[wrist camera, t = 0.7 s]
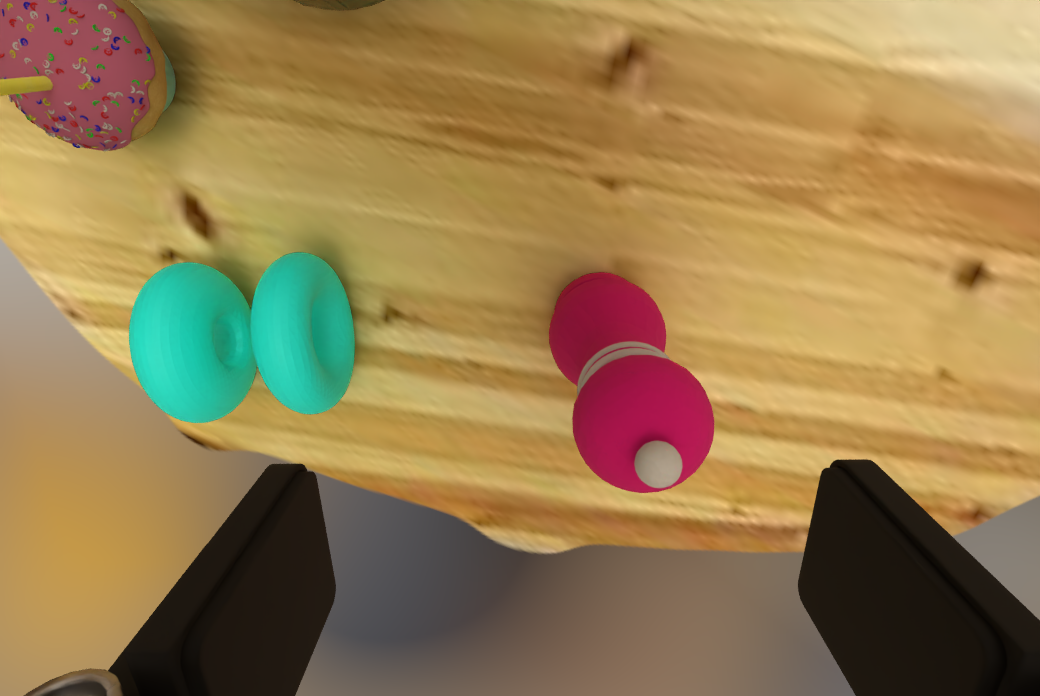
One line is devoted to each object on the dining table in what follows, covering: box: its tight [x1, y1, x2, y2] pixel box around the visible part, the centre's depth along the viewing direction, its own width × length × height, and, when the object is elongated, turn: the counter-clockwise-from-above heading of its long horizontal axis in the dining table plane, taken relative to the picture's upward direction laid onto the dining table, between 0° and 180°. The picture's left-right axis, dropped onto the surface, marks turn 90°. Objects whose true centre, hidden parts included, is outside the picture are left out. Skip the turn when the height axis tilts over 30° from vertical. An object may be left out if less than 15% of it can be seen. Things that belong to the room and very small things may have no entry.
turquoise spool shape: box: [129, 252, 355, 423], centre depth 35 cm, size 10×10×10 cm
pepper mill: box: [549, 272, 714, 493], centre depth 30 cm, size 7×7×20 cm
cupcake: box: [0, 0, 176, 151], centre depth 28 cm, size 9×8×12 cm
